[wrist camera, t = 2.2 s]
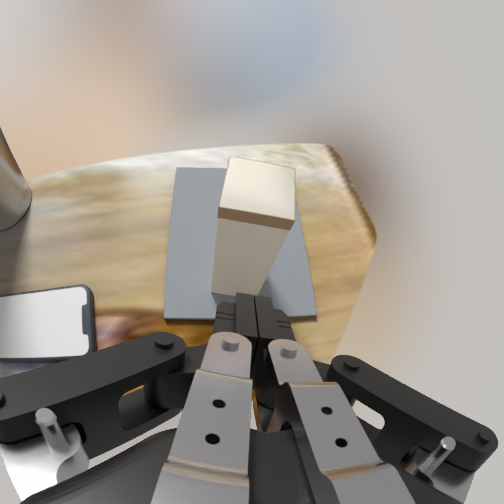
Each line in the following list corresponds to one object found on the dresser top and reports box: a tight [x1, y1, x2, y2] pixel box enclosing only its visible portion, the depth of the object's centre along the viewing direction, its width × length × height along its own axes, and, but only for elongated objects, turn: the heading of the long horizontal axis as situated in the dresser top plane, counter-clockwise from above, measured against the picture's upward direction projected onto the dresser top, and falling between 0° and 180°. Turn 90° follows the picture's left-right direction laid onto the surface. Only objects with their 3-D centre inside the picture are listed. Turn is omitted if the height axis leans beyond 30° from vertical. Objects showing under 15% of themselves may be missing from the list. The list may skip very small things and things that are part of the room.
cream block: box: [211, 156, 295, 296], centre depth 26 cm, size 5×5×15 cm
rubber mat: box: [164, 168, 317, 320], centre depth 36 cm, size 17×22×1 cm
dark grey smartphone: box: [0, 285, 96, 363], centre depth 26 cm, size 9×2×16 cm
